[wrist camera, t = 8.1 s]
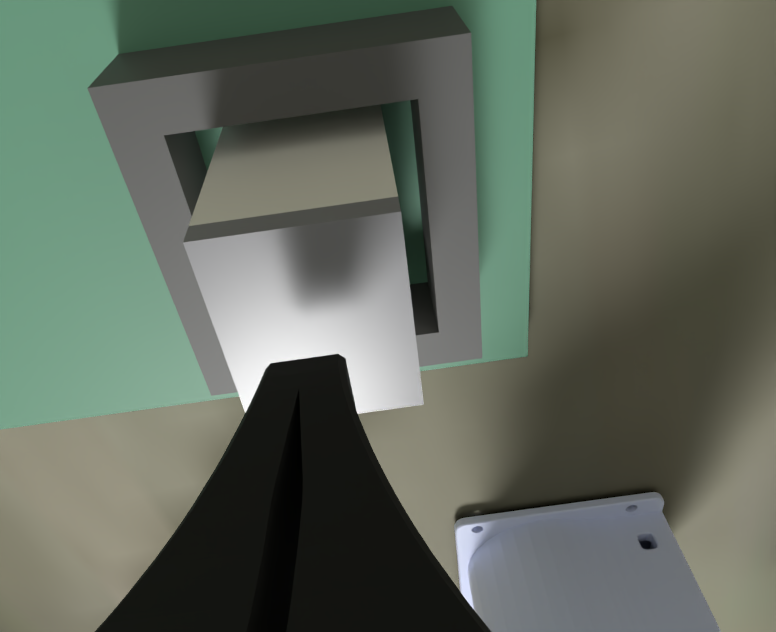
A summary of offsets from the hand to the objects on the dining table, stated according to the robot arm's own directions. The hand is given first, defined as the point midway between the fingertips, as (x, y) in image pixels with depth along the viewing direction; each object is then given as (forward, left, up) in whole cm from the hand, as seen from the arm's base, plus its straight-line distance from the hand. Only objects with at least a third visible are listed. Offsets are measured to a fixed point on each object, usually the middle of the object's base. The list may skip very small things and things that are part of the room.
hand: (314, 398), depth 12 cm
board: (+5, 0, -9) cm, 10 cm away
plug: (0, 0, -8) cm, 8 cm away
